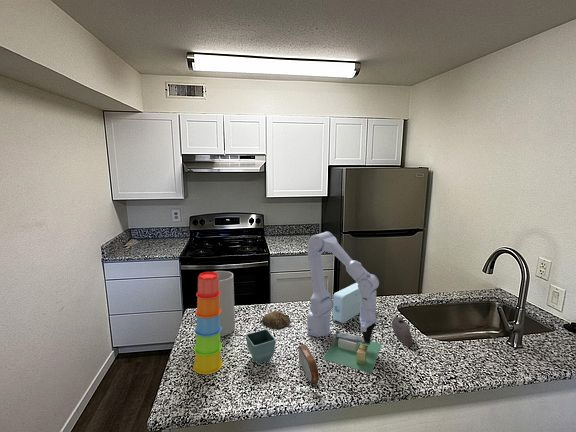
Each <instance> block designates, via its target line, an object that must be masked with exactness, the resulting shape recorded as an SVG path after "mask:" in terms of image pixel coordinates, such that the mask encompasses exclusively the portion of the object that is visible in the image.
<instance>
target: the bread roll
mask: <svg viewBox="0 0 576 432" xmlns="http://www.w3.org/2000/svg"><path fill="white" fill-rule="evenodd" d="M261 323H262V324H263V325H264V326H267V327H268V328H272V329H275V330H276V329H277V330H278V329H281V328H283V327H289V326H290V325H291V318H290V317H289V316H288V315H287V314H285V313H283V312H282V311H280V310H275V311H270V312H268V313H266V314H264V316H263V317H262V318H261Z"/></svg>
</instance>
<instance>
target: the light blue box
mask: <svg viewBox="0 0 576 432" xmlns="http://www.w3.org/2000/svg"><path fill="white" fill-rule="evenodd" d="M332 296H333V297H332V300H333V303H334V306H333V308H332V320H333V321H335V322H336V321H337V322H338V323H341V324H345V323H346V322H348V321H349V320H351V319H353V318H354V317H356V316H357V315H360V303H361V292H360V290H359V288H358V283H357V282H355V283H352V284H350V285H349V286H347V287H345V288H344V287H343V288H342V289H340V290H339V291H337V292H334V294H333V295H332Z"/></svg>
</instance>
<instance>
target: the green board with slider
mask: <svg viewBox="0 0 576 432" xmlns="http://www.w3.org/2000/svg"><path fill="white" fill-rule="evenodd" d="M336 332H339V333H340V330H339V329H335V333H336ZM340 334H346V335H352V336H356V335H354V334H351V333H347V332H342V333H340ZM357 336H358V337H361V336H359V335H357ZM361 344H362V342H356V341H351V340H345V339H339V338H336V336H334V335H331V345H330V346H329V348H328V349H327V351H326V352H325V354H324V355H323V357H322V360H325V361H327V362H331V363H335V364H337V365H342V366H345V367H348V368H352V369H355V370H359V371H362V372H366V373H369V374H372V373H373V370H374V367H375V364H376V362H377V359H378V356H379V353H380V350H381V347H382V345H383V344H382V343H380V342H378V341H373V340H372V341H371V343H370V345H367V344H362V345H366V346H368V349H367V361H366V364H365V366H364V365H361V364H357V363H356V359H357V350H358V348H359V347H360V345H361Z"/></svg>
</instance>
